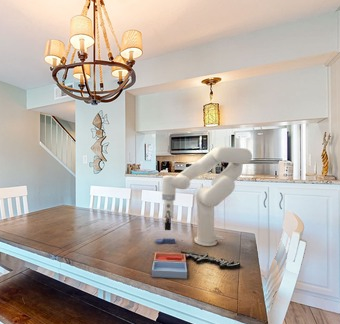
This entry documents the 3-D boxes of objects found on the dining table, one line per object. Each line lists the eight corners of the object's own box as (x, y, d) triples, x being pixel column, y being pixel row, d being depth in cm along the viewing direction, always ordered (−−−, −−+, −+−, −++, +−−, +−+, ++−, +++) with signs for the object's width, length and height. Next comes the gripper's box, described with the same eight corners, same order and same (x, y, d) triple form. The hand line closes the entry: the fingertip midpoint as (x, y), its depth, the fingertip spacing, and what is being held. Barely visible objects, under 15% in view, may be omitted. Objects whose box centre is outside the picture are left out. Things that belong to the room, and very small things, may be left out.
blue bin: (185, 268, 91) (185, 262, 91) (187, 278, 84) (187, 272, 83) (153, 266, 93) (153, 260, 93) (151, 276, 85) (151, 270, 85)
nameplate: (240, 258, 97) (240, 269, 88) (240, 261, 97) (240, 272, 88) (182, 248, 108) (177, 257, 98) (182, 251, 108) (177, 260, 98)
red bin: (184, 259, 100) (184, 253, 100) (185, 267, 92) (185, 261, 92) (155, 257, 101) (155, 252, 101) (153, 266, 93) (153, 260, 93)
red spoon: (181, 259, 98) (181, 255, 98) (181, 264, 94) (181, 259, 94) (158, 258, 99) (158, 254, 99) (157, 263, 95) (157, 258, 95)
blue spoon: (174, 241, 121) (175, 237, 121) (175, 244, 117) (175, 240, 117) (156, 240, 122) (156, 236, 122) (155, 243, 118) (155, 239, 118)
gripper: (175, 200, 110) (174, 232, 110) (175, 194, 127) (174, 222, 128) (161, 199, 111) (160, 232, 111) (162, 194, 128) (162, 222, 128)
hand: (168, 227), depth 119 cm, fingers open, 9 cm apart
